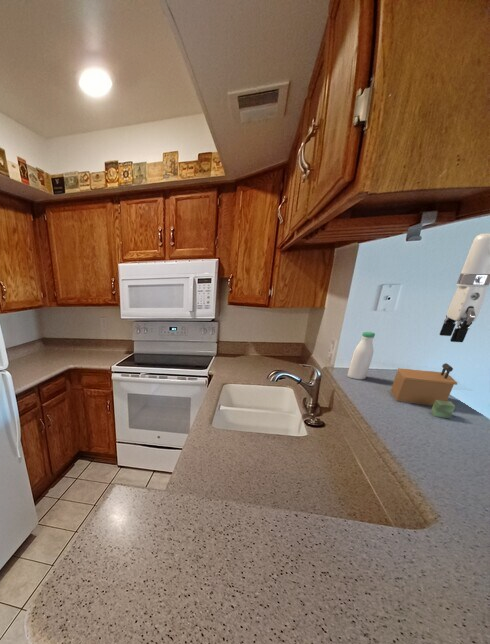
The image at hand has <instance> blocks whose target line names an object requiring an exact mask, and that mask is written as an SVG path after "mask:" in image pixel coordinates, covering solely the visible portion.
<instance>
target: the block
mask: <svg viewBox="0 0 490 644" xmlns="http://www.w3.org/2000/svg"><path fill="white" fill-rule="evenodd" d="M455 408H456V405H455V404H454V403H453V402H452V401H451V400H447V401H442V400H435V402H434V405H432V407H431V409H430V412H431V413H432V415H433V416H434V417H438V418H447V419H451V418H452V415H453V413H454V410H455Z"/></svg>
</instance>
